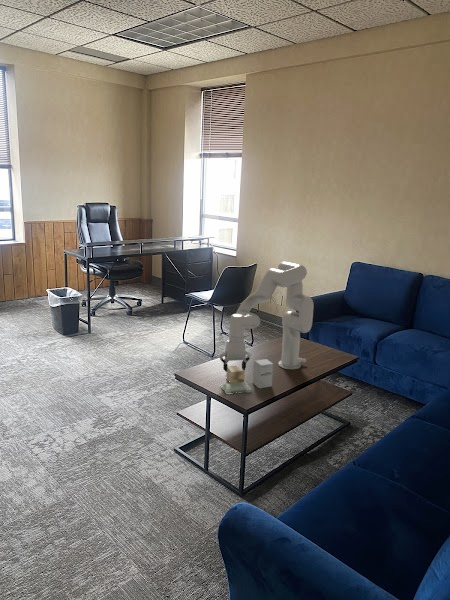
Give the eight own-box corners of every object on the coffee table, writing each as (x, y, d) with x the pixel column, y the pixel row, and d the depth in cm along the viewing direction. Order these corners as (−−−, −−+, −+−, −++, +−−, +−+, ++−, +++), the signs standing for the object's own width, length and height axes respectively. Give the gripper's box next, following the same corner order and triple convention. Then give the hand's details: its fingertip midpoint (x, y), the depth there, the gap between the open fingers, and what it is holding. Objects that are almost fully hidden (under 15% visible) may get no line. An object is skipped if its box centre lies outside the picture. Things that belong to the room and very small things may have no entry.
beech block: (238, 377, 247) (239, 365, 245) (244, 383, 240) (244, 370, 238) (226, 378, 245) (226, 366, 243) (231, 384, 238) (231, 372, 236)
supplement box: (259, 389, 234) (260, 365, 231) (252, 383, 240) (253, 360, 237) (272, 386, 237) (273, 363, 234) (265, 381, 243) (266, 358, 240)
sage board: (245, 384, 238) (245, 381, 238) (251, 392, 230) (251, 389, 230) (220, 387, 235) (220, 384, 234) (226, 394, 226) (226, 391, 226)
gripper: (249, 335, 243) (247, 366, 247) (217, 336, 238) (216, 368, 241) (255, 339, 236) (252, 371, 240) (222, 341, 231) (220, 374, 234)
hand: (234, 370), depth 241 cm, fingers open, 9 cm apart
